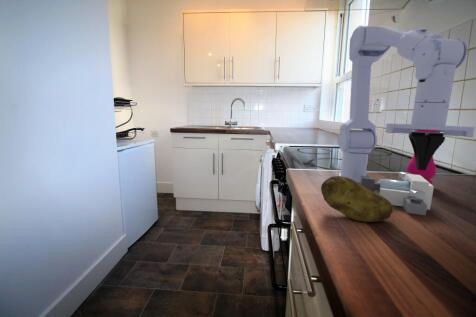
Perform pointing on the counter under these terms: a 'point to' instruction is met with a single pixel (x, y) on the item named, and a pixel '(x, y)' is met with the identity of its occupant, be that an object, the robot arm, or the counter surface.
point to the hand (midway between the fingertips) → (420, 169)
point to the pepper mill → (431, 167)
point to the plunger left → (402, 176)
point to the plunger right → (416, 196)
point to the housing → (402, 196)
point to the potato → (355, 200)
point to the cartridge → (384, 184)
